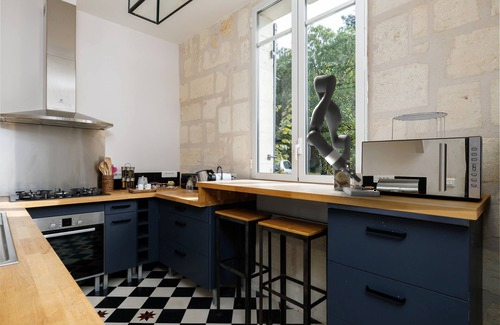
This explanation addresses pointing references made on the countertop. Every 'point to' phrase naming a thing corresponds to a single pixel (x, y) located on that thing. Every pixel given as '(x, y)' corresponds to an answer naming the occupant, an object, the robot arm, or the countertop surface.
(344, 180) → the coffee box
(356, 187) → the fader knob
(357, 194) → the fader console
